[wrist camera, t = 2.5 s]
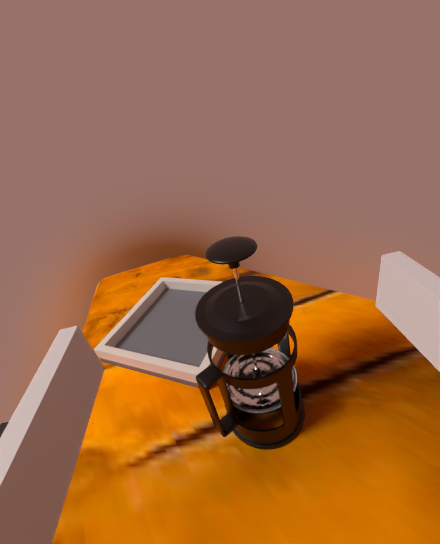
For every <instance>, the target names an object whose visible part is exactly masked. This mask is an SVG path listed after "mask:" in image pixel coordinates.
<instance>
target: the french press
mask: <svg viewBox="0 0 440 544" xmlns="http://www.w3.org/2000/svg"><path fill="white" fill-rule="evenodd" d="M256 249H257V244H256V242H255V241H254V240H253V239H250V238H247V237H229V238H225V239H222V240H220V241H217V242H216V243H214V244H212V245H211V246H210V247H209V248H208V249H207V251H206V258H207V259H208V260H209V261H210V262H213V263H216V264H228V265H229V268H231V269H233V272H234V276H235V278H234V279H230V280H227V281H225V282H222V283H220V284H218V285H216V286H214V287H213V288H211V289H210V290H209V291H208V292H206V293H205V294H204V295H203V296H202V298H201V299H200V300H199V302H198V304H197V306H196V310H195V319H196V323H197V325H198V327H199V329H200V330H201V331H202V332H203V334H205V335H206V336H207V339H208V345H207V353H208V358H209V361H210V363H211V365H210V366H208V367H207V368H206V369H204V370H203V371H202V372H200V373H199V374H198V375H197V376H196V381H197V384H198V386H199V389H200V391H201V394H202V396H203V398H204V401H205V403H206V406H207V408H208V411H209V413H210V416H211V418H212V421H213V423H214V426H215V427H216V428H217V430H218V431H219V432H220V433H221V435H222V436H223V437H226V436H227V435H228V434H229V433H230V432H232V431H233V432H234V433H235V435H236V436H237V437H238V438H239V439H240V440H241V441H243V442H244V443H246V444H247V445H249V446H252V447H254V448H258V449H264V450H265V449H275V448H279V447H282V446H284V445H285V444H287V443H289V442H290V441H291V440H292V439H294V438H295V436H296V435H297V434H298V432H299V431H300V429H301V427H302V425H303V421H304V404H303V400H302V398H301V390H300V386H299V384H298V381H297V373H296V369H295V367H294V364H295V362H296V358H297V340H296V336H295V332H294V330H293V329H292V327H291V326H290V325H289V319H290V317H291V315H292V312H293V298H292V295H291V293H290V292H289V290H288V289H287V288H286V287H285V286H284V285H283V284H281V283H279V282H278V281H276V280H273V279H270V278H266V277H260V276H245V277H239V275H238V270H237V268H238V267H239V266H240V263H239V262H240V261H242V260H244V259H247V258H248V257H250V256H251V255H252V254H254V253H255V251H256ZM288 334H289V335H290V336H291V338H292V340H293V342H294V349H293V353H292V355H291V354H290V345H289V335H288ZM277 343H278V349H279V351H278V350H275V349H273V348H271V347H273V346H274V345H275V344H277ZM213 347H215V348H217V349H218V350H220V351H223V352H225V353H226V354H227V358H228V362H227V363H226V365H225V367H224V369H223V371H221V370H220V369H218V368H217V367H216V366H215V364H214V363H213V362H212V350H213ZM216 381H217V382H218V385H219V388H220V391H221V394H222V397H223V400H224V403H225V407H226V410H227V414H226V415H225V416H224V417H223V418H222V419H221V420H220V419H219V417H218V414H217V411H216V409H215V406H214V403H213V401H212V398H211V395H210V393H209V387H210V386H211V385H212V384H214V383H215V382H216ZM280 408H281V410H282V417H283V423H284V424H283V425H281V426H279V427H277V428H273V429H270V430H255V429H251V428H248V427H245V426H244V425H243V424H242V423H241V421H240V420H239V418H238V414H237V409H239V410H241V411H243V412H247V413H251V414H266V413H270V412H274V411H276V410H278V409H280Z"/></svg>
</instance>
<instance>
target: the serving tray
mask: <svg viewBox="0 0 440 544" xmlns="http://www.w3.org/2000/svg"><path fill="white" fill-rule="evenodd" d="M220 283H222V282H218V281H205V280H191V279H178V278H165V277H161V278H160V279H159V280H158V281H157V282H156V283H155V285H154V286H153V287H152V288H151V289H150V290H149V291H148V292H147V293H146V294H145V295H144V296H143V297H142V298H141V299H140V301H139V302H138V303H137V304H136V305H135V306H134V307H133V308H132V309H131V310H130V311H129V312H128V313H127V314H126V315H125V317H124V318H123V319H122V320H121V321H120V322H119V323H118V324H117V325H116V326H115V327H114V328H113V329H112V330H111V331H110V333H109V334H108V335H107V336H106V337H105V338H104V339H103V340H102V341H101V342H100V343H99V344H98V345H97V346H96V348H95V349H94V351H95V352H96V354H97V355H98V357H99V358H100V360H101V361H102V362H105V363H109V364H113V365H116V366H120V367H124V368H127V369H131V370H135V371H138V372H142V373H146V374H149V375H153V376H157V377H161V378H164V379H168V380H172V381H175V382H179V383H183V384H186V385H190V386H194V387H198V388H199V386H198V384H197V381H196V376H197V375H198V374H199V373H200V372H202V371H203V370H204V369H206V368H207V367H208V366H210V365H211V363H210V361H209V358H208V353H207V345H208V339H207V336H206V335H205V334H203V332H202V331H201V330H200V329H199V327H198V325H197V323H196V319H195V310H196V306H197V304H198V302H199V300H200V299H201V298H202V296H203V295H204V294H205V293H206V292H208V291H209V290H210V289H211V288H213V287H214V286H216V285H218V284H220ZM225 354H226V353H225V352H223V351H220V350H218V349H217V348H215V347H213V350H212V362H213V363H214V364H215V366H216V367H217V368H218V369H219V367H220V365H221V363H222V361H223V358H224V356H225ZM209 388H210V387H209Z"/></svg>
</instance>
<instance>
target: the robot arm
mask: <svg viewBox="0 0 440 544" xmlns="http://www.w3.org/2000/svg"><path fill="white" fill-rule="evenodd" d="M376 307H377V308H378V309H379V310H380V311H381V312H382V313H383V314H384V315H385V316H386V317H387V318H388V319H389V320H390V321H391V322H392V323H393V324H394V325H395V326H396V327H397V328H398V329H399V330H400V332H401V333H402V334H403V335H404V336H405V337H406V338H407V339H408V340H409V341H410V342H411V343H412V344H413V345H414V346H415V347H416V348H417V349H418V350H419V351H420V352H421V353H422V354H423V355H424V356H425V357H426V358H427V359H428V360H429V361H430V362H431V363H432V364H433V366H434V367H435V368H436V369H437V370H438V371H439V372H440V278H439V277H438V276H436V275H435V274H433V273H432V272H430V271H429V270H427V269H426V268H424V267H423V266H421V265H420V264H418V263H416V262H415V261H414V260H412V259H411V258H409V257H408V256H406V255H405V254H403V253H402V252H400V251H399V252H394V253H389V254H385V255H382V258H381V266H380V274H379V282H378V290H377V298H376ZM104 369H105V368H104V367H103V365H102V364H101V362H100V360H99V359H98V357H97V356H96V354H95V352H94V351H93V349H92V348H91V346H90V344H89V343H88V341H87V340H86V338H85V337H84V335H83V333H82V332H81V330H80V329H79V327H78V326H74V327H70V328H66V329H61V330H60V331H59V332H58V334H57V336H56V338H55V340H54V342H53V343H52V345H51V347H50V349H49V351H48V352H47V354H46V356H45V358H44V360H43V361H42V363H41V365H40V367H39V369H38V370H37V372H36V374H35V376H34V378H33V379H32V381H31V383H30V385H29V387H28V389H27V390H26V392H25V394H24V396H23V398H22V399H21V401H20V403H19V405H18V407H17V408H16V410H15V412H14V414H13V416H12V417H11V419H10V421H9V422H6V423H2V424H1V425H0V544H52V541H53V538H54V535H55V531H56V528H57V525H58V521H59V518H60V515H61V511H62V508H63V505H64V501H65V498H66V495H67V492H68V488H69V485H70V482H71V478H72V475H73V472H74V468H75V465H76V462H77V458H78V455H79V452H80V448H81V445H82V442H83V438H84V435H85V432H86V428H87V425H88V422H89V418H90V415H91V412H92V408H93V405H94V402H95V398H96V395H97V392H98V388H99V385H100V382H101V379H102V375H103V372H104Z"/></svg>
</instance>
